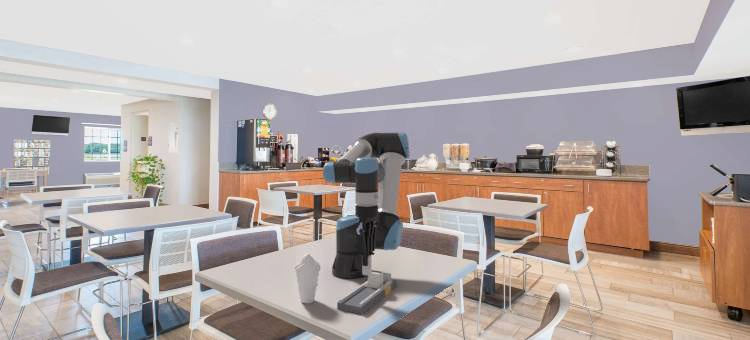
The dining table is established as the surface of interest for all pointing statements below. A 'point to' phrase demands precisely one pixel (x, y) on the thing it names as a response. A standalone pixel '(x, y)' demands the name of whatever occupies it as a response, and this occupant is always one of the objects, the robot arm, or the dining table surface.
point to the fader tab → (375, 279)
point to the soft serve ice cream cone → (307, 278)
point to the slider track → (366, 296)
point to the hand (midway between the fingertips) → (366, 274)
